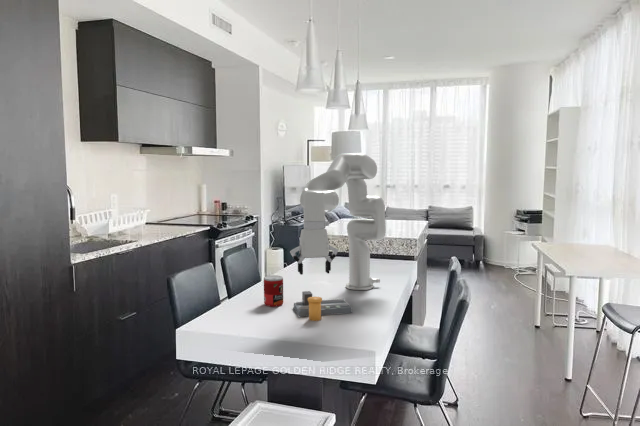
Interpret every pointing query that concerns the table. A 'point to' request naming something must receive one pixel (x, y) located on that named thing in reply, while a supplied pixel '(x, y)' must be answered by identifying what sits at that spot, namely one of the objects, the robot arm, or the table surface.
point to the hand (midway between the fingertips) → (314, 273)
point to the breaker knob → (306, 297)
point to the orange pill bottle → (314, 308)
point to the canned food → (273, 290)
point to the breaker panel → (325, 307)
